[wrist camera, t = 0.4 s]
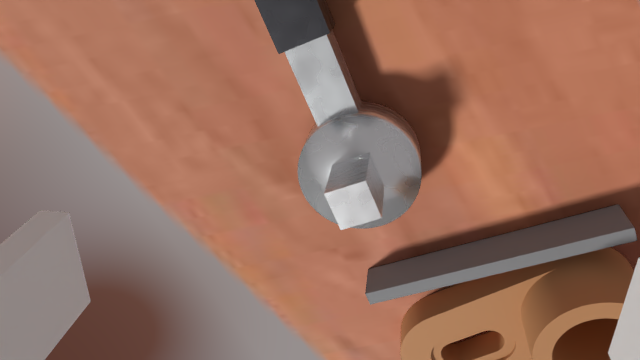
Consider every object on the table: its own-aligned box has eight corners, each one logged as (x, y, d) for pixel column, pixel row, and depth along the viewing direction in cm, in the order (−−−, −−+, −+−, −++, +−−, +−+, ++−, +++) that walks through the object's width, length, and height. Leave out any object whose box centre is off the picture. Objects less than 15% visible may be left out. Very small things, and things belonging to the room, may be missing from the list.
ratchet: (198, -66, 33) (149, -58, 27) (318, -127, 31) (295, -133, 25) (331, 219, 41) (317, 276, 35) (436, 188, 39) (441, 243, 32)
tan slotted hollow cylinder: (608, 221, 38) (645, 283, 32) (651, 306, 41) (694, 379, 34) (382, 312, 44) (377, 378, 38) (431, 381, 47) (434, 453, 41)
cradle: (368, 269, 42) (365, 293, 40) (618, 204, 37) (634, 227, 34) (426, 396, 48) (427, 425, 45) (653, 355, 42) (669, 386, 40)
